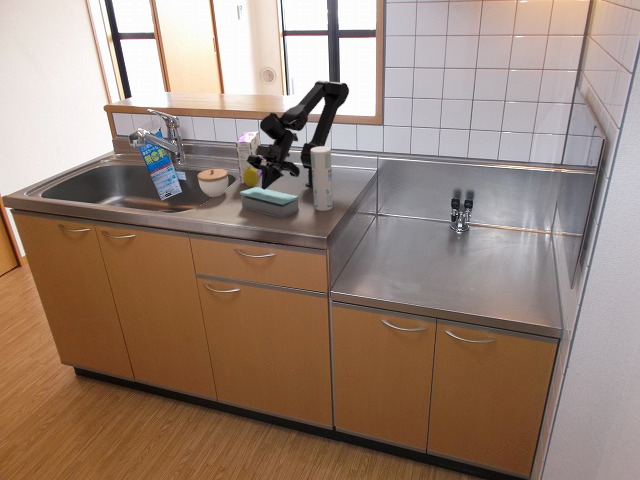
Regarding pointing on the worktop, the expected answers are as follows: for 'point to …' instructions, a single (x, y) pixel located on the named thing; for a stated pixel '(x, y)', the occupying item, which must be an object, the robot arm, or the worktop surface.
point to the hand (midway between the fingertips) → (263, 188)
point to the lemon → (250, 177)
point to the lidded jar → (213, 182)
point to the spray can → (322, 178)
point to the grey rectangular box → (269, 207)
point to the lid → (269, 195)
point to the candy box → (247, 151)
